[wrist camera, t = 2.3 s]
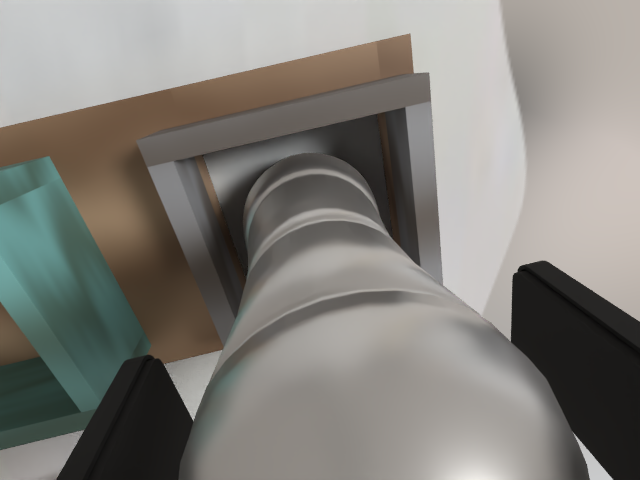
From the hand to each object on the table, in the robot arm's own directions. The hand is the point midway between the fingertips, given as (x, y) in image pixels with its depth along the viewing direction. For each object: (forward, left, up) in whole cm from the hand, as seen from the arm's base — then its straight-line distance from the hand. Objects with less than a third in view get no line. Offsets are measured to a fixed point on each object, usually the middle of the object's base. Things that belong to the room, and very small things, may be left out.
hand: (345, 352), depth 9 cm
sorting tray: (0, -8, -11) cm, 14 cm away
